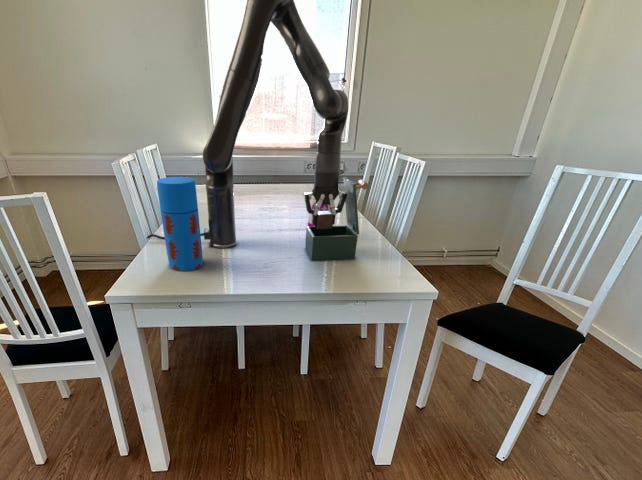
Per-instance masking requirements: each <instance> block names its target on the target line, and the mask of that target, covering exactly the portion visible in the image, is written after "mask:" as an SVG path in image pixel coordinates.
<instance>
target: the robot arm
mask: <svg viewBox="0 0 642 480" xmlns="http://www.w3.org/2000/svg"><path fill="white" fill-rule="evenodd" d="M271 23H272V25H273V27H275V28H276V30H277V31H278V33H279V34H280V35H281V37H282V39H283V40H284V42H285V44H286V47H287V49H288V51H289V53H290V57H291V59H292V62H293V64H294V66H295V68H296V70H297V71H298V74H299V75H300V77H301V79H302V82H304V84H305V86H306V87H307V90H308V95H309V98H310V100H311V103H312V106H313V108H314V111H315V112H316V113H317V115H318V116H319V118H321V119H323V120H324V122H323V127H322V129H321V130H320V131H319V132H318V135H317V143H316V155H315V164H314V177H313V181H314V182H313V189H312V191H310V192H304V193H303V199H304V203H305V208H306V212H307V214H308V213H309V214H312V224H313V225H314V227H317V218H318V216H317V213H318V211H319V209H320V207H321V205H324V204H327V205H329V207H330V211H331V213H332V214H333V217H332V226H335V224H336V215H337V214H340V213H342V211H343V210H344V209H343V208H344V206H345V201H346V198H347V194H346V193H345V192H344V191H340V189H339V182H340V174H341V173H340V171H341V160H342V158H341V151H342V140H343V134H344V131H345V128H346V123H347V119H348V114H349V106H350V105H349V98H348V95H347V93H346V92H345V91H344V90H341V89H334V87H333V85H332V83H331V81H330V76H331V73H330V69H329V67H328V65H327V63H326V61H325V59H324V58H323V56H322V54H321V52H320V50H319V49H318V47H317V45H316V43H315V42H314V40H313V39H312V36H311V35H310V34H309V32H308V30H307V29H306V26H305V25H304V22H303V21H302V19H301V16H300V14H299V11H298V9H297V7H296V2H295V0H247V1H246V5H245V9H244V14H243V19H242V23H241V28H240V30H239V32H238V33H239V34H238V37H237V40H236V43H235V46H234V50H233V54H232V57H231V60H230V62H229V66H228V69H227V72H226V75H225V78H224V82H223V85H222V90H221V93H220V98H219V102H218V103H219V104H218V109H217V115H216V118H215V121H214V124H213V127H212V130H211V132H210V135H209V137H208V140H207V141H206V144H205V146H204V148H203V149H202V161H203V164H204V172H205V193H206V203H207V204H206V205H207V206H206V207H207V217H208V220H207V223H208V228H204V229H203V232H202V233H201V232H200V235H201V237H203V240H205V241H207V240H209V246H210V247H211V248H217V249H224V248H225V249H226V248H231V247H235V246H236V245H237V234H236V209H235V189H234V188H235V187H234V186H235V185H234V184H235V183H234V179H235V178H234V157H233V154H234V149H235V146H236V142H237V138H238V135H239V132H240V130H241V127H242V125H243V123H244V121H245V118H246V117H247V114H248V112H249V110H250V107H251V105H252V103H253V100H254V98H255V95H256V92H257V88H258V85H259V83H260V80H261V75H262V69H263V57H264V45H265V39H266V36H267V32H268V29H269V27H270V24H271ZM312 196H314V198H315V199H316V201H315V204H314V208H313V209H311V204H310V200H311V197H312ZM337 198H338V199H339V200H338V202H337V205H335V200H337ZM151 238H156V239H159V240H165V236H162V235H157V234H153V233H151V234H148V235H147V237H146V239H147V240H149V239H151Z"/></svg>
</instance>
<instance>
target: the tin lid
mask: <svg viewBox="0 0 642 480" xmlns="http://www.w3.org/2000/svg"><path fill="white" fill-rule="evenodd" d="M342 179H343V181H342V182H343V192H345V193H346V194H347V198H346V201H345V203H344V206H345V215H346V224H347V225H348V226H349V227H350V228H351V229H352V230H353V231H354V232H355V234H356V235H357V236H358V235H360V227H359V226H360V225H359V213H358V212H359V211H358V198H357V197H358V196H357V190H359V189H360V190H361V189H362V190H365V191H366V190H367V189H369V183H368V182H366V181H365V180H363V179H359V180H357V182H353V180H351V179H349V178H348V177H347V176H342ZM347 225H346V226H347Z"/></svg>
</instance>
